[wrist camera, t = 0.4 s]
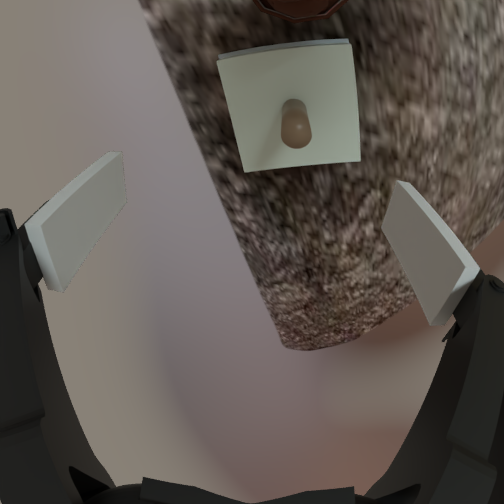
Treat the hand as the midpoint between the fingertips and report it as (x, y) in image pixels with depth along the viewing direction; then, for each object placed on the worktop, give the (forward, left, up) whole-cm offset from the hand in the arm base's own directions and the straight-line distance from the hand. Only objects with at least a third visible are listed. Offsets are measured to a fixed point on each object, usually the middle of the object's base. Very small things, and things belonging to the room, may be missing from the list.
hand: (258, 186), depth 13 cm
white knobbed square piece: (-2, +4, -29) cm, 29 cm away
